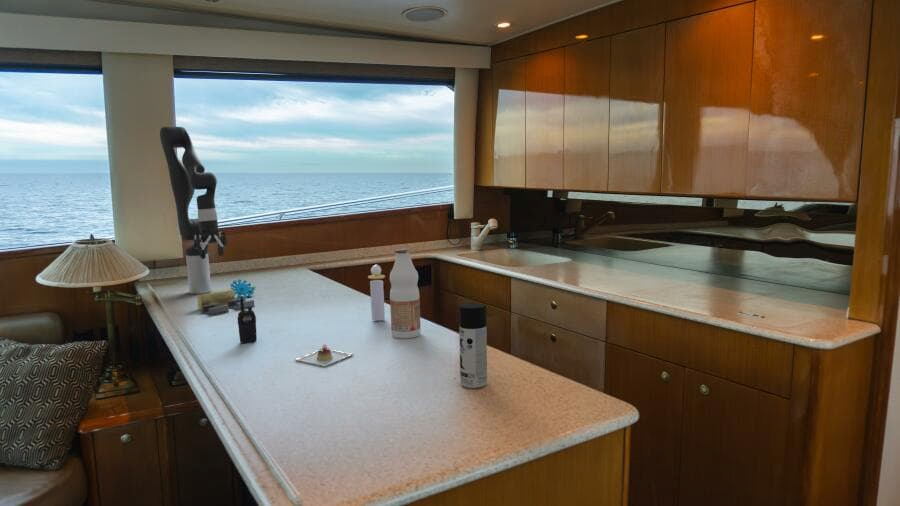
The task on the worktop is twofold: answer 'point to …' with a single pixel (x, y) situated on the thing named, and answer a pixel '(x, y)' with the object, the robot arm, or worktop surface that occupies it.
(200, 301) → the link bar
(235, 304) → the grey u-channel block
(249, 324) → the two-way radio
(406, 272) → the fruit juice
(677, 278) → the worktop surface
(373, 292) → the perfume bottle
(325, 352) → the dessert
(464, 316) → the spray can
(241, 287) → the gear
